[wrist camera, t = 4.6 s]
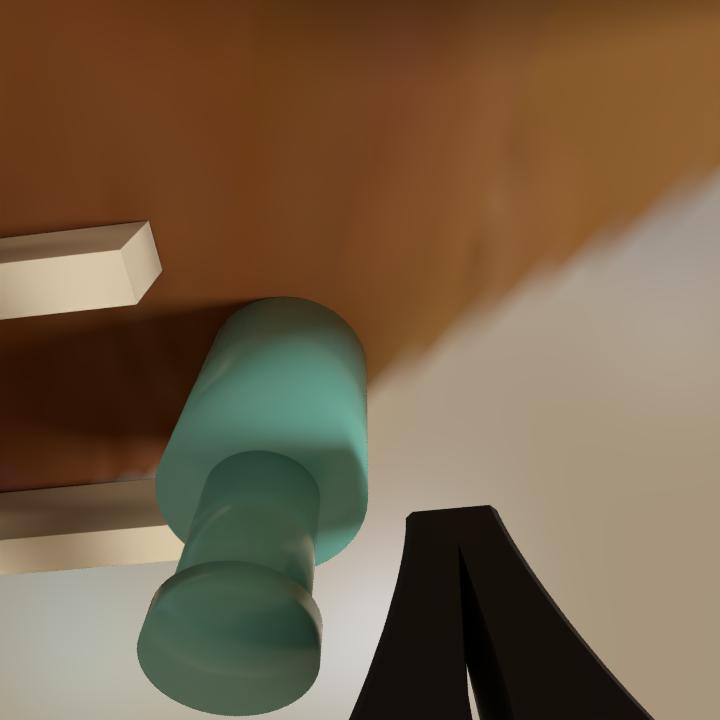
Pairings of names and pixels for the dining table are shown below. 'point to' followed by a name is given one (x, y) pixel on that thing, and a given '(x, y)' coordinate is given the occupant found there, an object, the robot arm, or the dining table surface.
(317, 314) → the bottle
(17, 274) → the cradle
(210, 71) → the dining table surface
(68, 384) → the dining table surface
